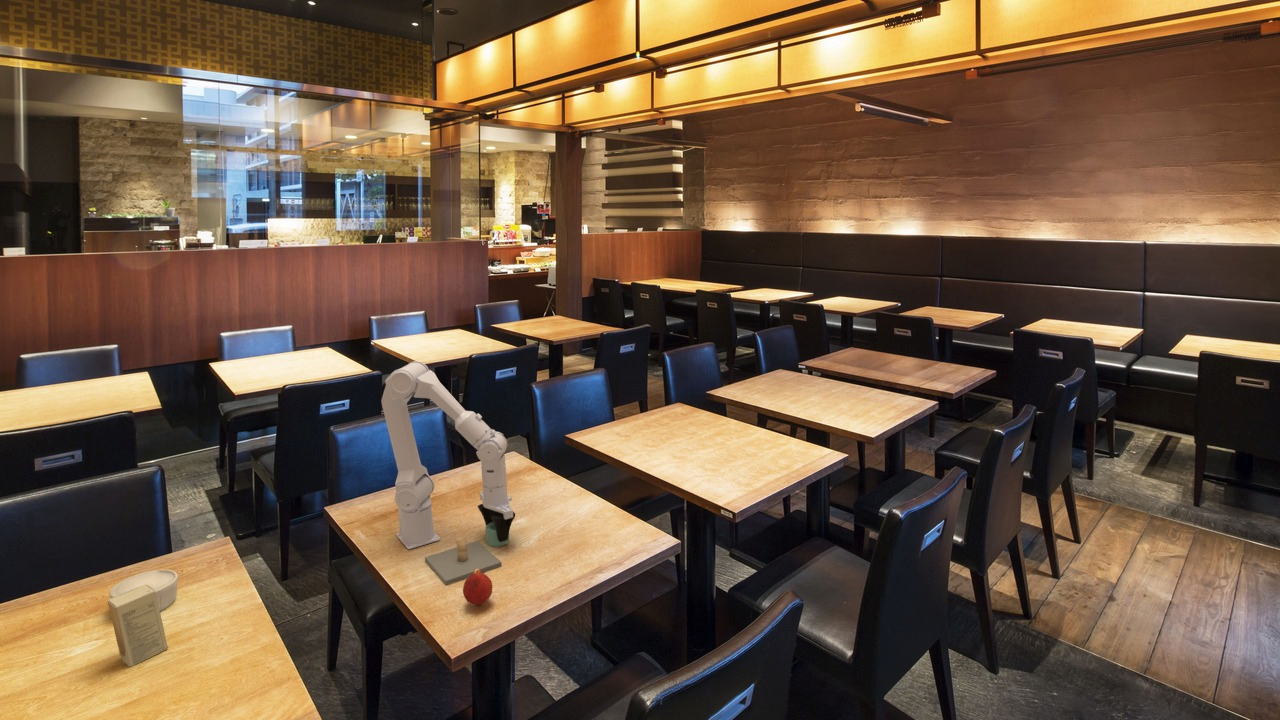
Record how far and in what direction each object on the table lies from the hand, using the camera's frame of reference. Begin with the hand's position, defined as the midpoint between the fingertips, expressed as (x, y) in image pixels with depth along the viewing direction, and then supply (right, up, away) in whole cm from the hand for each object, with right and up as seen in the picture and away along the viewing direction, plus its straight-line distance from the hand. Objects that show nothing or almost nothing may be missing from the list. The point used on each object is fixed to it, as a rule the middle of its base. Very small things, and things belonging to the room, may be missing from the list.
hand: (497, 535), depth 161 cm
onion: (+2, -7, -26) cm, 28 cm away
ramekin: (-67, -8, -25) cm, 72 cm away
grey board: (-6, -4, -10) cm, 12 cm away
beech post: (-6, -4, -10) cm, 12 cm away
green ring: (0, -1, 0) cm, 1 cm away
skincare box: (-56, -11, -41) cm, 70 cm away
